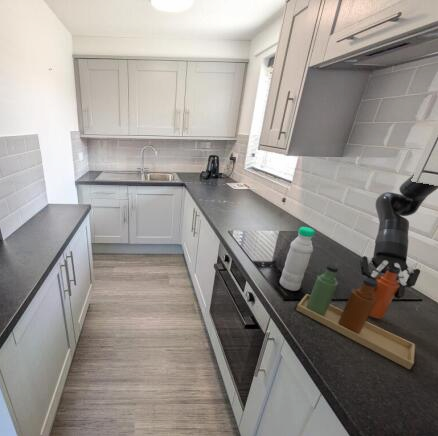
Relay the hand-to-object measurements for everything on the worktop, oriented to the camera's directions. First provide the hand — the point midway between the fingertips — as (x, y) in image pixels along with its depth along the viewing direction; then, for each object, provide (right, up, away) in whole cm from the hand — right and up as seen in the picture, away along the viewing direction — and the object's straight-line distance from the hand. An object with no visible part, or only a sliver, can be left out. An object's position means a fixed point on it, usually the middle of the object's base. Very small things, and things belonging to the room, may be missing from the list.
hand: (384, 293), depth 72 cm
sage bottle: (-17, -8, +6) cm, 20 cm away
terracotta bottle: (+1, -8, +5) cm, 9 cm away
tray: (-11, -11, 0) cm, 16 cm away
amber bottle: (-11, -11, 0) cm, 15 cm away
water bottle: (-18, -4, +19) cm, 27 cm away
